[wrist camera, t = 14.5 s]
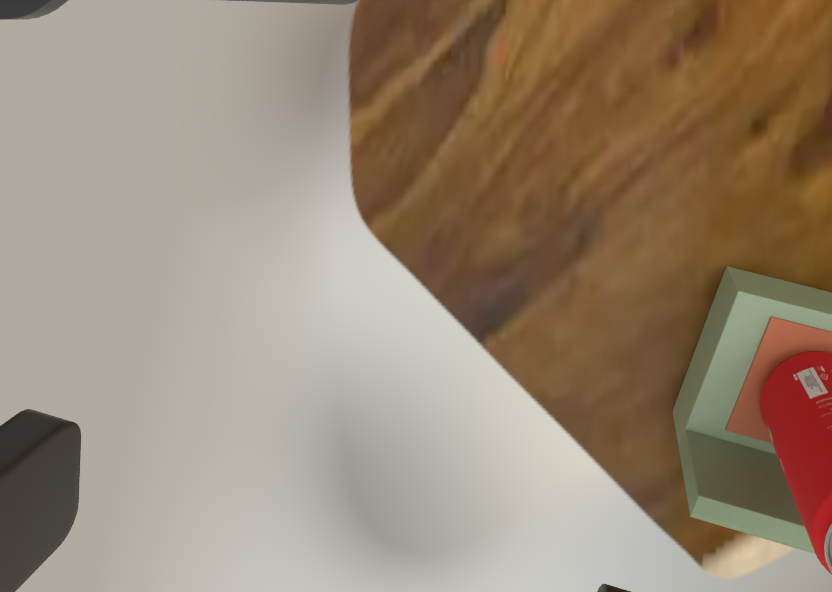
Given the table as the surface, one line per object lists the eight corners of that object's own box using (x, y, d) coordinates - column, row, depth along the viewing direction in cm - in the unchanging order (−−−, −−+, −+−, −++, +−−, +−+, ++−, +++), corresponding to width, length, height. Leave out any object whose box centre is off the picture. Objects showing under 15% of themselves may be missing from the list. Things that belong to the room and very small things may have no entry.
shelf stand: (671, 411, 44) (689, 517, 34) (726, 265, 40) (762, 339, 31) (854, 462, 42) (923, 586, 33) (926, 315, 39) (1025, 408, 30)
